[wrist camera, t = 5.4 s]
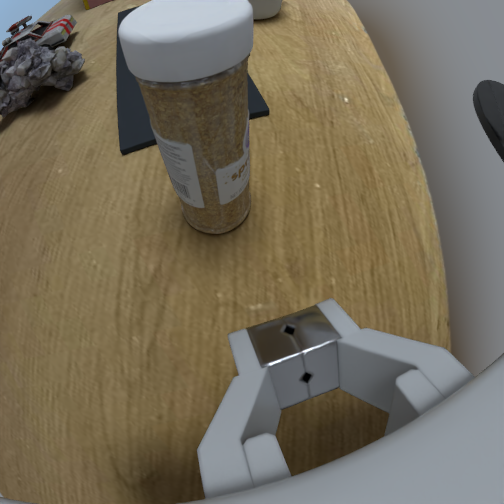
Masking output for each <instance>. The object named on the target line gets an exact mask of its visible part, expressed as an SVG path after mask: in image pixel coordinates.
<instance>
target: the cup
mask: <svg viewBox="0 0 504 504" xmlns="http://www.w3.org/2000/svg"><path fill="white" fill-rule="evenodd" d="M248 1H249V3H250V4H251V6H252V8H253V19H266V18H270V17H272V16H275V15H276V14H277V13H278V12H279V10H280V8H281V4H282V0H248Z"/></svg>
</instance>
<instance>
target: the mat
mask: <svg viewBox="0 0 504 504" xmlns="http://www.w3.org/2000/svg"><path fill="white" fill-rule="evenodd" d="M138 7H140V6H138ZM138 7H135V8H132V9H128V10H125V11H122V12H119V13H118V25H117V59H116V76H117V111H118V129H119V143H120V151H121V153H122V155H124V154H127V153H130V152H133V151H135V150H138V149H141V148H144V147H147V146H150V145H153V144H157V141H156V138H155V136H154V133H153V130H152V127H151V123H150V117H149V113H148V111H147V108H146V104H145V101H144V98H143V95H142V93H141V89H140V86H139V83H138V82H137V80H136V77H135V75H133V74H132V73H131V71H130V70H129V68H128V66H127V63H126V60H125V57H124V53H123V50H122V46H121V42H120V38H119V33H118V31H119V27H120V24H121V22H122V21H123V19H124V18H125V17H126V16H127V15H128V14H129V13H131V12H132V11H133V10H135V9H137V8H138ZM247 82H248V85H247V86H248V110H249V119H250V118H255V117H260V116H265V115H269V108H268V106H267V105H266V103H265V101H264V99H263V98H262V96H261V94H260V93H259V91H258V89H257V87H256V86H255V84H254V82H253V81H252V79H251V77H250V76H249V74H248V73H247Z"/></svg>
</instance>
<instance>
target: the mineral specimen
mask: <svg viewBox="0 0 504 504" xmlns="http://www.w3.org/2000/svg"><path fill="white" fill-rule="evenodd" d="M70 50H71V49H68V48H65V47H59V48H57V49H55V50H49V49H48V47H41V46H40V47H39V46H38V45H37V43H36V42H35V41H34V40H32V39H31V38H29V39H26V40H25V41H20V42H18V44H17V47H14V48H11V49H10V50H8V51H7V52H6V54H5V55H4V57H3V58H2V60H4V62H3V63H2V64H0V115H2V116H3V118H4V117H5V116H6V115H7V114H8V113H10V112H12V111H17V110H18V109H19V108H21V107H27V106H28V105H29V104H30V103H31V102H33V100H34V98H31V94H32V93H33V91H34V90H35V91H38V90H39V89H40V87H41V85H43V86H45V85H47V86H51V85H54V86H55V87H56V88H59V89H63V90H67V91H69V90H70V89H71V88H72V85H73V75H74V74H77V73H78V72H79V71H80V70H81V68H82V66H83V64H84V62H85V59H82V57H81V55H82V54H80V53H79V52H77V51H74V52H70Z"/></svg>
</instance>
